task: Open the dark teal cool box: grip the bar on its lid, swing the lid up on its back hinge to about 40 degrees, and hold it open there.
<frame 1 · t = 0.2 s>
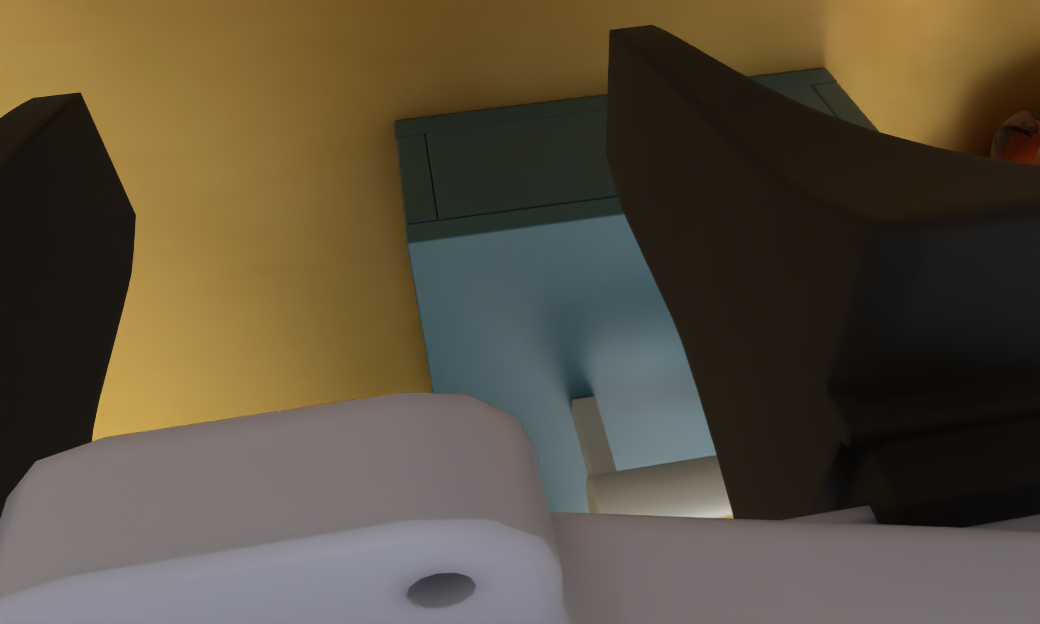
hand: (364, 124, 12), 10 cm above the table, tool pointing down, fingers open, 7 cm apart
cool box lid: (668, 432, 23), point 7 cm above the table, hinge at 0.0°
cool box: (608, 256, 28), on the table
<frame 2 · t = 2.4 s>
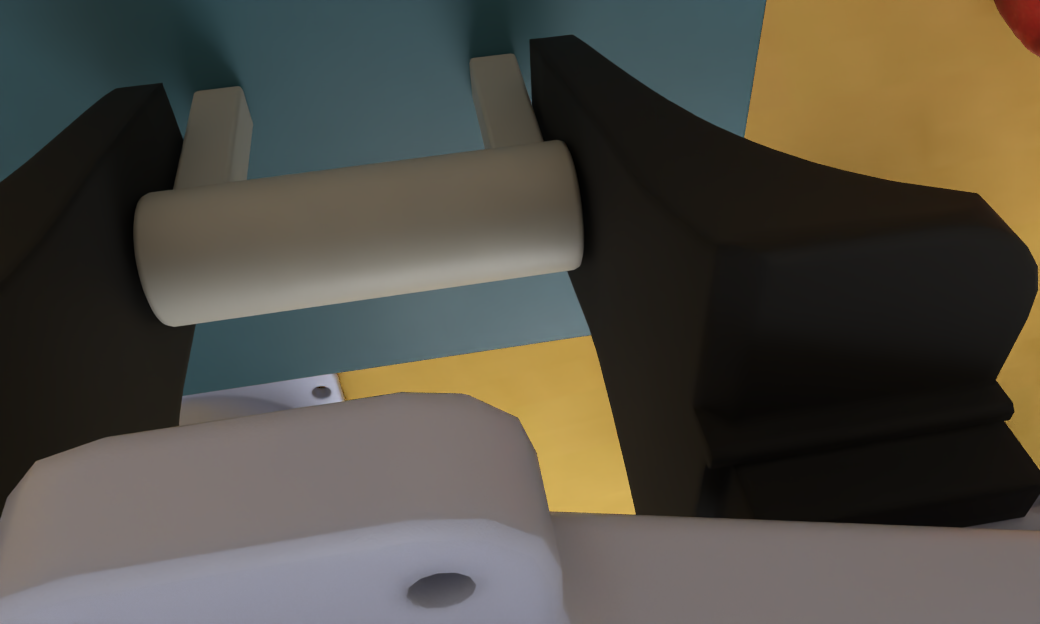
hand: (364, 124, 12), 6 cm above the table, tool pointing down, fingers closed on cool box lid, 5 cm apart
cool box lid: (359, 130, 11), point 7 cm above the table, hinge at 0.0°, touching gripper
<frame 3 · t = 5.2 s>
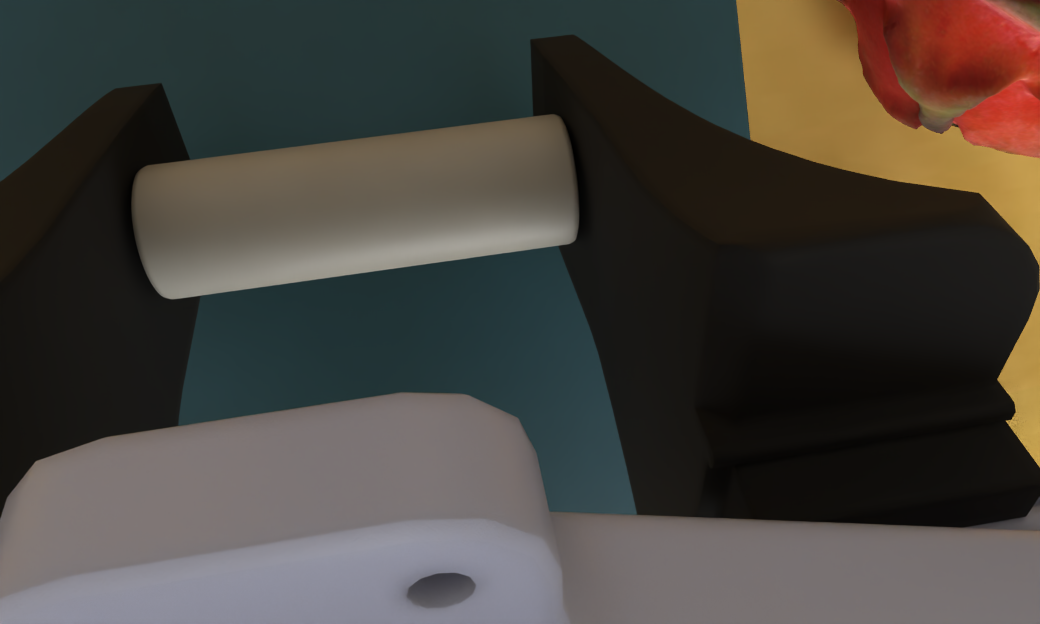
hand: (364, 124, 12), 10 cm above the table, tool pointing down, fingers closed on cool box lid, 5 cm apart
cool box lid: (370, 180, 12), point 11 cm above the table, hinge at 38.3°, touching gripper
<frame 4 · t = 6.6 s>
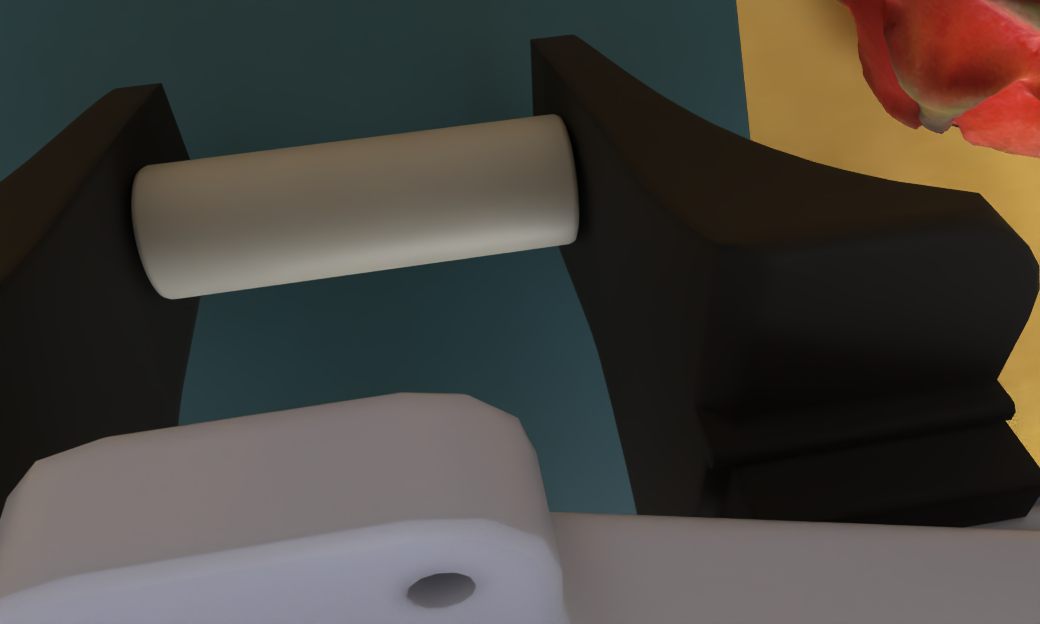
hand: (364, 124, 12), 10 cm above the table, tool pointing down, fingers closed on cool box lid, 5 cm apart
cool box lid: (370, 180, 12), point 11 cm above the table, hinge at 38.3°, touching gripper
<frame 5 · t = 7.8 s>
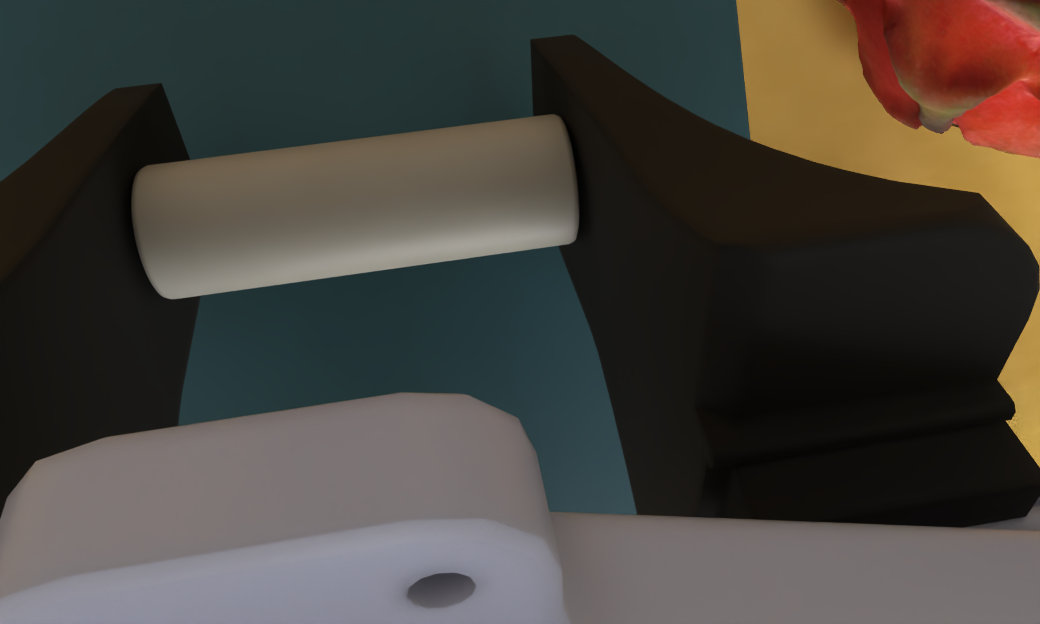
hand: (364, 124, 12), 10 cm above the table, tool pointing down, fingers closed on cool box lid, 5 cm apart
cool box lid: (370, 180, 12), point 11 cm above the table, hinge at 38.3°, touching gripper
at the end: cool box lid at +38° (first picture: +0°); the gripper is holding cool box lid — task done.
